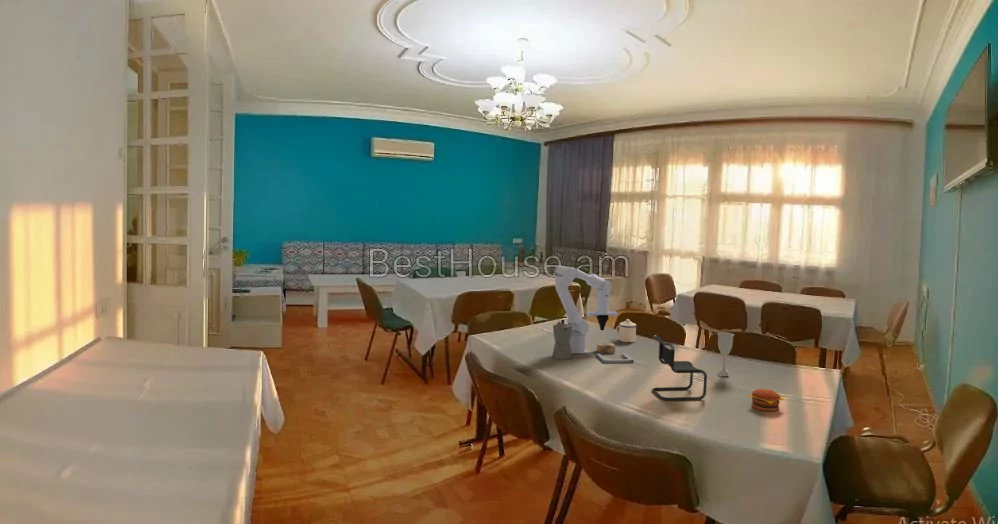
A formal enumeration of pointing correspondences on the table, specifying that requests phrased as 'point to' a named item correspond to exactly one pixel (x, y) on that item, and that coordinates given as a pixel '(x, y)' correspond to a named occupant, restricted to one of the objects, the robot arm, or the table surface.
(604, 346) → the walnut block
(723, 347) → the chalice
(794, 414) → the table surface
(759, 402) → the hamburger
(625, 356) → the grey u-shaped bracket
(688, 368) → the chair
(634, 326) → the teacup with lid
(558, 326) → the coffeepot
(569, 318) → the robot arm
